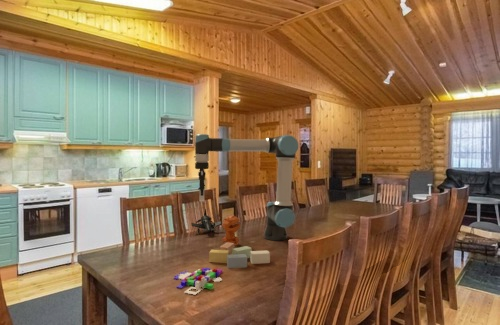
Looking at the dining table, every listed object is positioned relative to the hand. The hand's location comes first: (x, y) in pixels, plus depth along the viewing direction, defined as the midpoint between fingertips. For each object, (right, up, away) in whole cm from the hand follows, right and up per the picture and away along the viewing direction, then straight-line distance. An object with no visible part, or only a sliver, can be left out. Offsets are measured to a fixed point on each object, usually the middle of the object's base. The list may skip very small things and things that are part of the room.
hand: (201, 199), depth 176 cm
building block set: (+5, -30, -44) cm, 53 cm away
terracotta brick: (+15, -28, -10) cm, 33 cm away
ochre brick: (+12, -28, -20) cm, 37 cm away
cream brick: (+32, -29, -21) cm, 48 cm away
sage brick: (+23, -28, -15) cm, 40 cm away
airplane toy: (-2, -27, +32) cm, 42 cm away
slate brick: (+21, -29, -27) cm, 45 cm away
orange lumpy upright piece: (+16, -28, +6) cm, 33 cm away
